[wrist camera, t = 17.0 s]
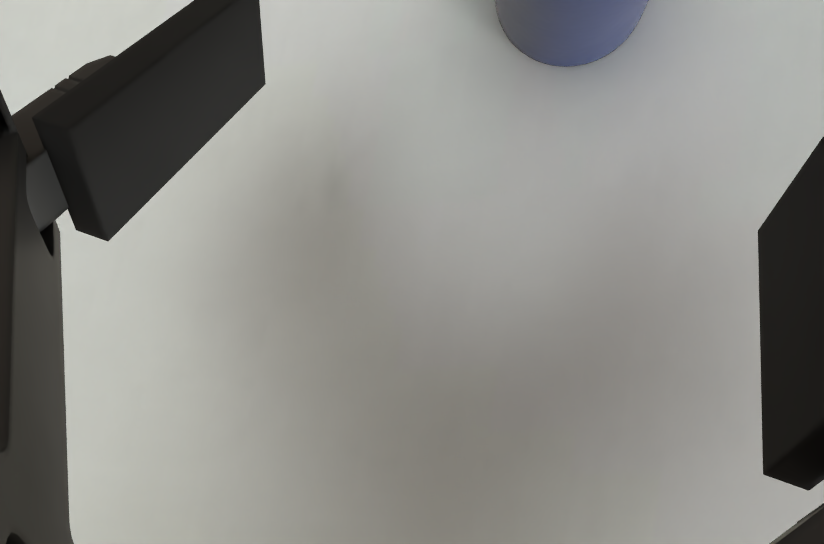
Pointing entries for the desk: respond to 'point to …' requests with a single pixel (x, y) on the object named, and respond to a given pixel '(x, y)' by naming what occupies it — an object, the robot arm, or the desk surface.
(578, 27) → the bottle
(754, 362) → the desk surface
